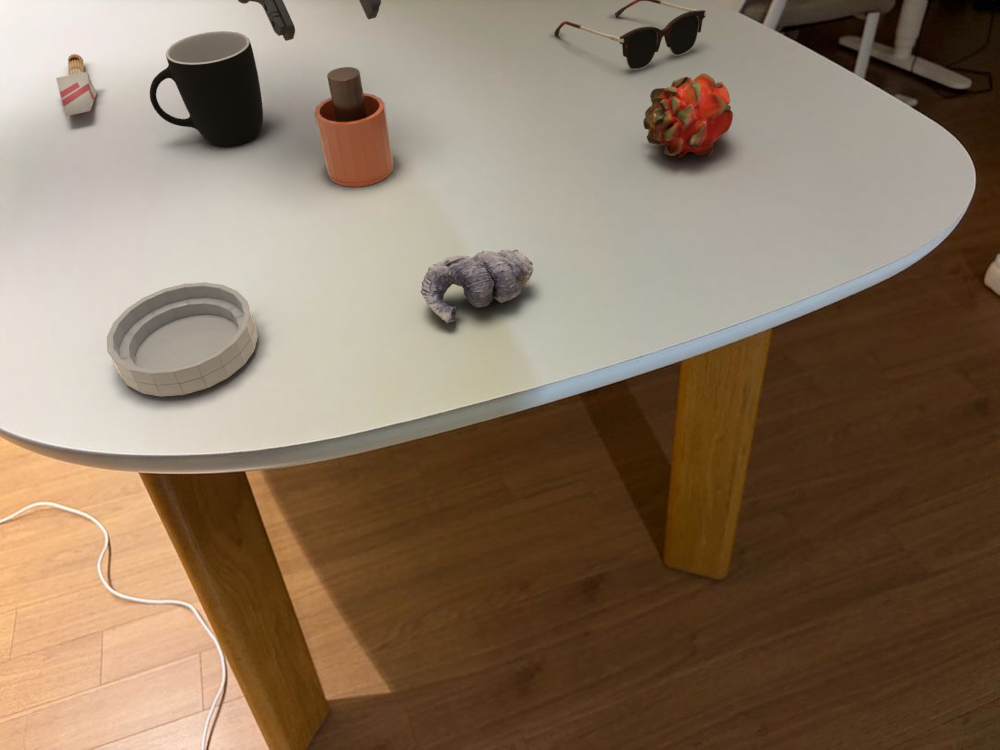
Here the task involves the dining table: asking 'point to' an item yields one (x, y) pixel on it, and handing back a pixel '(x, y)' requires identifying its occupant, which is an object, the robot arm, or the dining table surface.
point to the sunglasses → (655, 36)
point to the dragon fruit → (688, 115)
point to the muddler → (347, 94)
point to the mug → (215, 86)
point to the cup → (356, 144)
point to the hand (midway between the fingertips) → (333, 24)
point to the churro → (76, 88)
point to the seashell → (476, 279)
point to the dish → (182, 339)
